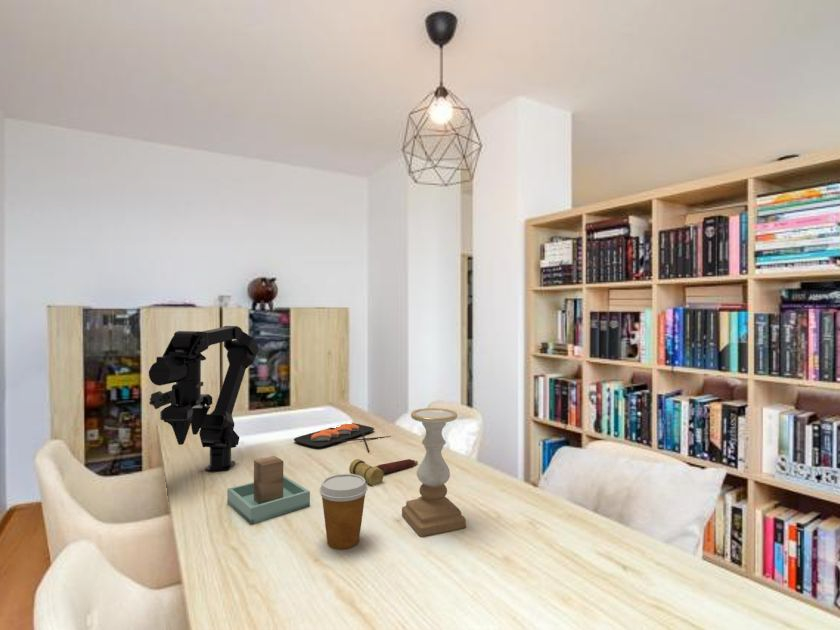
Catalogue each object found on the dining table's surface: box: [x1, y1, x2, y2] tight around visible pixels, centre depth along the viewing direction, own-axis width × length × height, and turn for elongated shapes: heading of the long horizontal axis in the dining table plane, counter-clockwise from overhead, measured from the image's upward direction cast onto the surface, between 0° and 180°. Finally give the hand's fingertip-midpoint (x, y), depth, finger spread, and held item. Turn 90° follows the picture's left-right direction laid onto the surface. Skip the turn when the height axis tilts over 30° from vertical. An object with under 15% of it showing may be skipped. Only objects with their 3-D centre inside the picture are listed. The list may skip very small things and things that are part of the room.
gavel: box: [348, 458, 419, 486], centre depth 129 cm, size 21×5×10 cm
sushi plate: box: [293, 422, 392, 453], centre depth 159 cm, size 29×30×4 cm
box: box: [226, 474, 311, 525], centre depth 107 cm, size 14×14×4 cm
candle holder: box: [401, 407, 467, 538], centre depth 100 cm, size 11×11×24 cm
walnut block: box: [253, 455, 284, 504], centre depth 107 cm, size 5×5×10 cm
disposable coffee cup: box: [318, 473, 369, 550], centre depth 91 cm, size 10×10×12 cm
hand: (188, 439), depth 118 cm, fingers open, 9 cm apart
